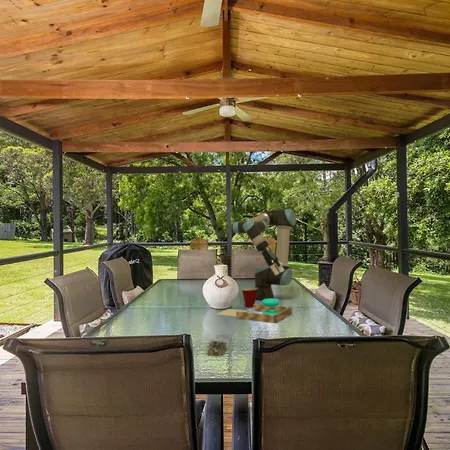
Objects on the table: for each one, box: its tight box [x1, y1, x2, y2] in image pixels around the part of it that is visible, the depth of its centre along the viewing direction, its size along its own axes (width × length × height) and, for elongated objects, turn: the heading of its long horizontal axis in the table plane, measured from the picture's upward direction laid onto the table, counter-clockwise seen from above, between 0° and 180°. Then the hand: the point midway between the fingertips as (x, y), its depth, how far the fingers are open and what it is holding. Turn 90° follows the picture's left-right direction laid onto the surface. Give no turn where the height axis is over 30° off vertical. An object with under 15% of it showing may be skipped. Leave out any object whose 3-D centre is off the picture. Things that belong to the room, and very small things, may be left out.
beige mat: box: [215, 308, 249, 318], centre depth 234 cm, size 14×16×1 cm
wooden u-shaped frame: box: [235, 303, 293, 324], centre depth 224 cm, size 24×24×4 cm
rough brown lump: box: [206, 339, 228, 357], centre depth 162 cm, size 11×8×4 cm
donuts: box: [261, 298, 280, 315], centre depth 222 cm, size 10×10×10 cm
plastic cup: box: [241, 287, 258, 308], centre depth 252 cm, size 11×11×12 cm
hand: (279, 272), depth 233 cm, fingers open, 13 cm apart
